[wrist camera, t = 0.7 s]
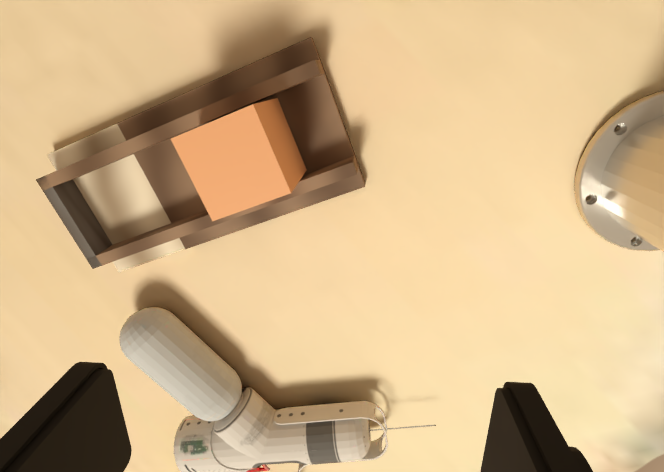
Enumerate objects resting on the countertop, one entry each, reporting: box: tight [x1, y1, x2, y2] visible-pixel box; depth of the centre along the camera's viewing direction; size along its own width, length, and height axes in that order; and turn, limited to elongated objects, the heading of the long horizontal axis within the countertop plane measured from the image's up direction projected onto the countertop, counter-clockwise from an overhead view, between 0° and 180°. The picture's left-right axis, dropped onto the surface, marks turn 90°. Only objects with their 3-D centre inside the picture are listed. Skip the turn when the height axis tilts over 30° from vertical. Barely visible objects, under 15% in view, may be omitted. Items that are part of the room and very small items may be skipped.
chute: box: [36, 37, 365, 272], centre depth 34 cm, size 25×12×4 cm, turn 111°
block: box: [171, 98, 307, 221], centre depth 30 cm, size 6×6×7 cm
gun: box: [120, 307, 436, 472], centre depth 42 cm, size 6×29×30 cm
